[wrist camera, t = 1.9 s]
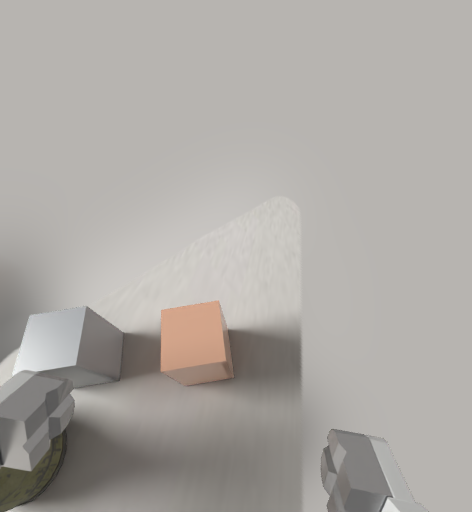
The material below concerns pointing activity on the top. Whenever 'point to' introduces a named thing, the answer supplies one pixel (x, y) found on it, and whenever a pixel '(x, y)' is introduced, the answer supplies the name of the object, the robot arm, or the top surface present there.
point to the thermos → (31, 476)
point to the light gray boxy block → (72, 347)
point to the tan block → (195, 344)
